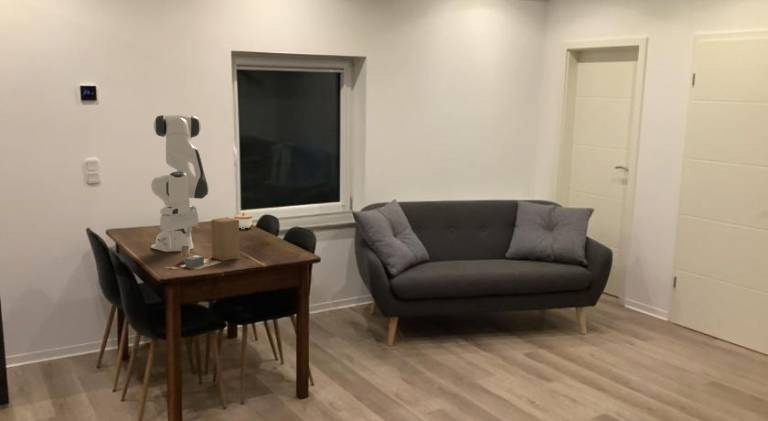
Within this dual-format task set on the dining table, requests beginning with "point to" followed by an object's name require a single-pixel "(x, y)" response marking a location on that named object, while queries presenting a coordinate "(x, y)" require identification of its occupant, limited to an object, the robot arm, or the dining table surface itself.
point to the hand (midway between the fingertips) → (180, 238)
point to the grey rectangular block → (194, 261)
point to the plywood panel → (205, 264)
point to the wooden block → (225, 238)
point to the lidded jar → (244, 220)
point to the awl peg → (185, 253)
